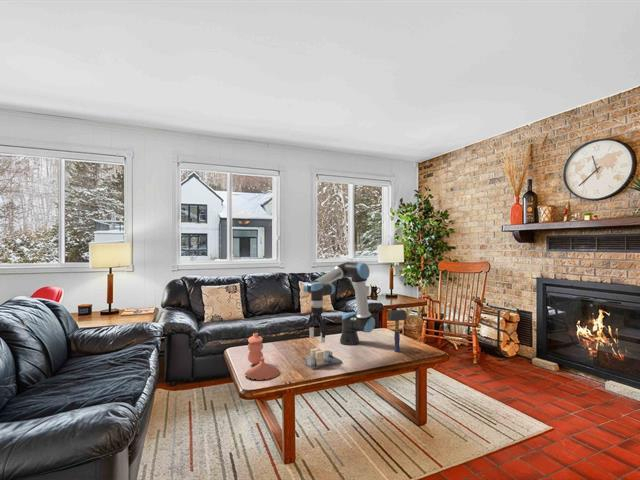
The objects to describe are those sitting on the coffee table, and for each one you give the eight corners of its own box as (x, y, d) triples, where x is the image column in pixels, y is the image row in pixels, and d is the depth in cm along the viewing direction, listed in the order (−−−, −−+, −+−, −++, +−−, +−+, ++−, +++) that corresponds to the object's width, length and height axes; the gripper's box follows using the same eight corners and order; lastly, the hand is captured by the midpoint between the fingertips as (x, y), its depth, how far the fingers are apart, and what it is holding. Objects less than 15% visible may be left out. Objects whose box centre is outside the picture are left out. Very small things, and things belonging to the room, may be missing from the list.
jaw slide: (324, 359, 227) (324, 350, 227) (328, 358, 229) (328, 350, 229) (331, 363, 220) (331, 354, 220) (334, 362, 222) (334, 353, 222)
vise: (305, 364, 222) (305, 353, 222) (333, 358, 234) (333, 348, 234) (313, 369, 214) (313, 358, 214) (342, 362, 225) (342, 352, 225)
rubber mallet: (402, 349, 252) (402, 308, 253) (407, 353, 245) (407, 310, 245) (386, 351, 249) (386, 309, 250) (391, 354, 242) (391, 311, 242)
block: (310, 361, 223) (310, 349, 223) (317, 360, 226) (317, 348, 226) (317, 365, 216) (317, 352, 217) (323, 364, 219) (323, 351, 219)
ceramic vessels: (284, 376, 203) (284, 344, 203) (248, 382, 195) (248, 348, 195) (269, 358, 236) (269, 330, 236) (237, 362, 227) (237, 333, 227)
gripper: (302, 304, 230) (302, 336, 230) (322, 310, 209) (322, 345, 209) (312, 303, 234) (312, 334, 234) (332, 309, 213) (333, 343, 213)
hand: (317, 339), depth 221 cm, fingers open, 13 cm apart
